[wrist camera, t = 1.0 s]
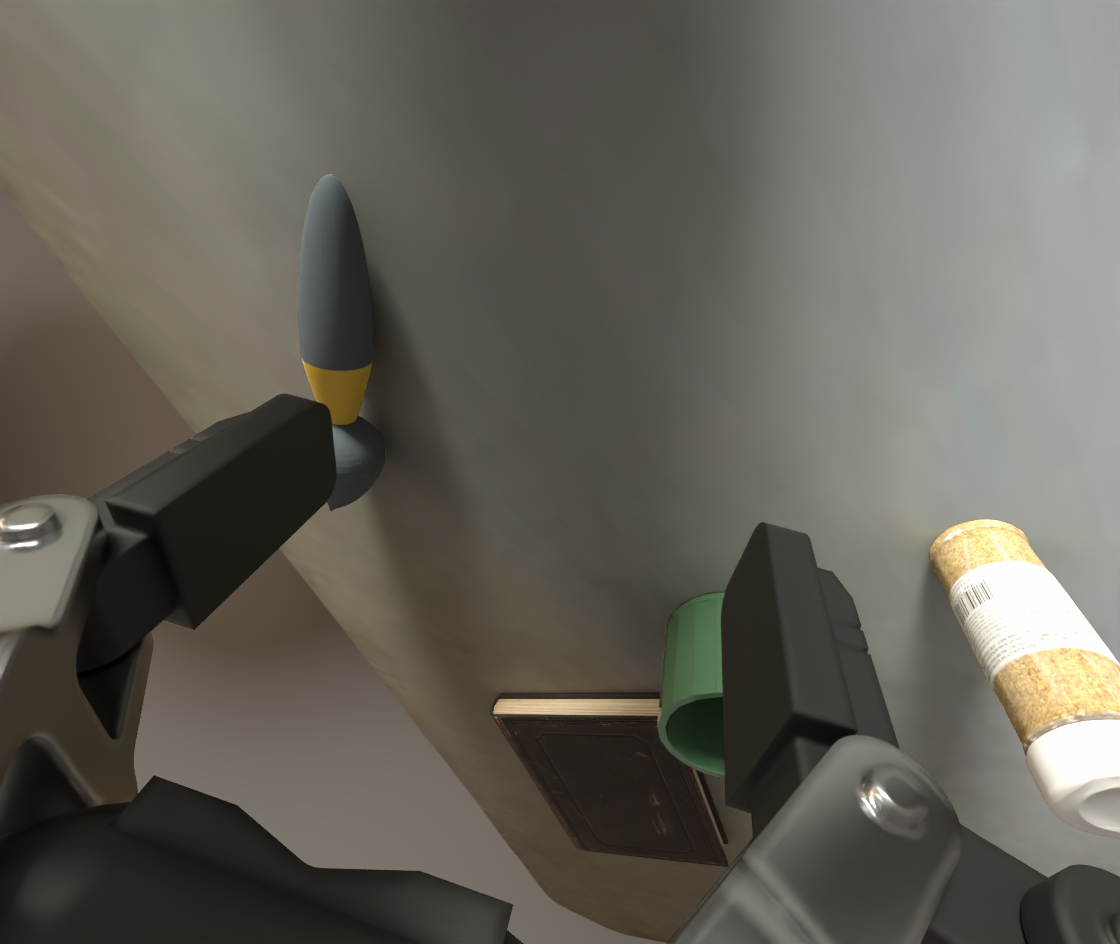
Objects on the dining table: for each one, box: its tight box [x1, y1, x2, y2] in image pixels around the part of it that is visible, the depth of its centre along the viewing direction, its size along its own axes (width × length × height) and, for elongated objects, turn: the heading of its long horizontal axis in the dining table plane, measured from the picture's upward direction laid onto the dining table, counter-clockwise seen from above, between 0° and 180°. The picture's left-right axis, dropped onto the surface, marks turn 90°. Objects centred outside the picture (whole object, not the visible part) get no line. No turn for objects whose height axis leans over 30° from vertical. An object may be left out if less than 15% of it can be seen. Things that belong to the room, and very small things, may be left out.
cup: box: [657, 592, 725, 779], centre depth 34 cm, size 9×9×8 cm
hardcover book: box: [491, 694, 728, 867], centre depth 49 cm, size 16×23×2 cm
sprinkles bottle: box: [929, 519, 1120, 838], centre depth 23 cm, size 5×5×14 cm
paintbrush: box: [298, 174, 385, 511], centre depth 29 cm, size 20×5×5 cm, turn 175°
